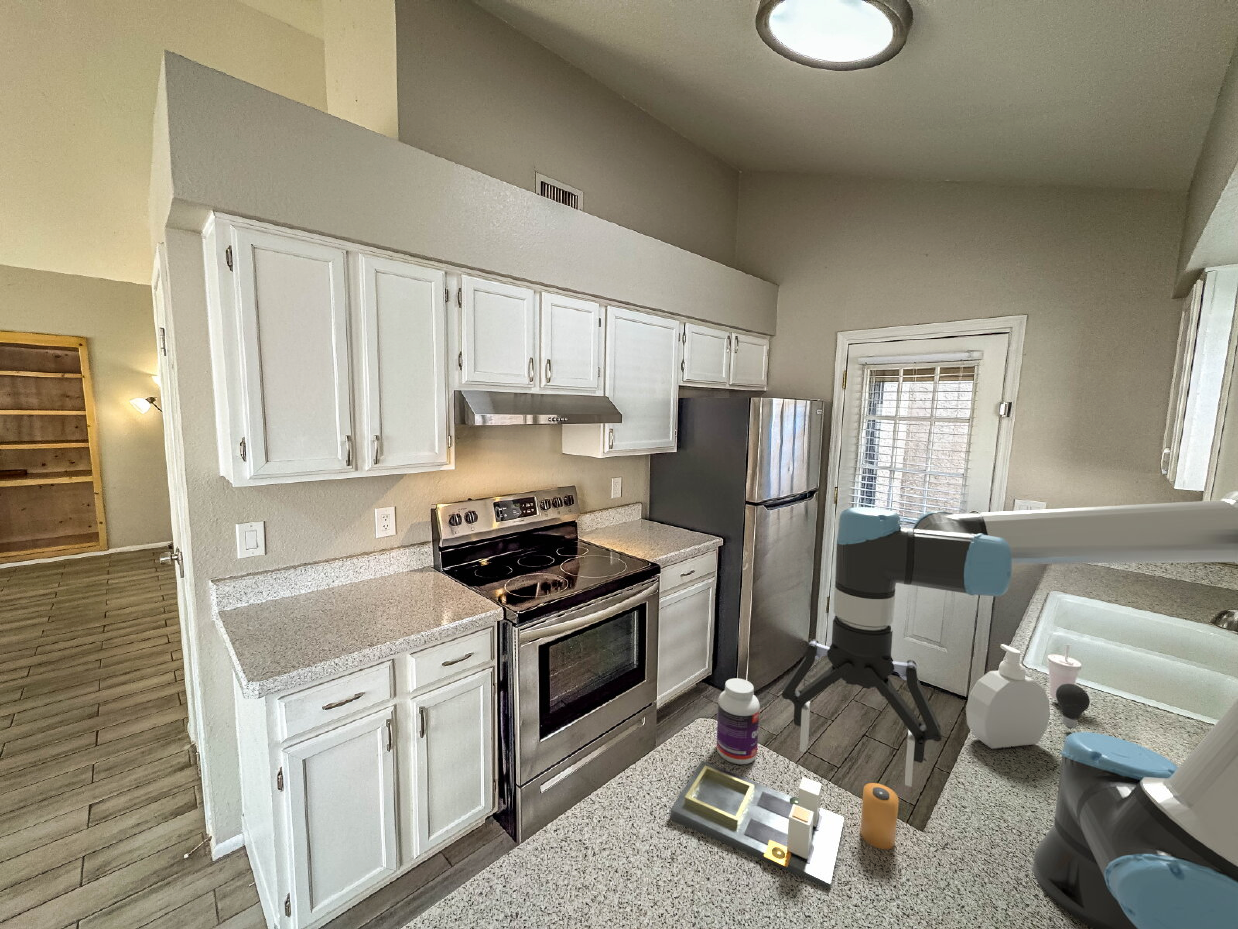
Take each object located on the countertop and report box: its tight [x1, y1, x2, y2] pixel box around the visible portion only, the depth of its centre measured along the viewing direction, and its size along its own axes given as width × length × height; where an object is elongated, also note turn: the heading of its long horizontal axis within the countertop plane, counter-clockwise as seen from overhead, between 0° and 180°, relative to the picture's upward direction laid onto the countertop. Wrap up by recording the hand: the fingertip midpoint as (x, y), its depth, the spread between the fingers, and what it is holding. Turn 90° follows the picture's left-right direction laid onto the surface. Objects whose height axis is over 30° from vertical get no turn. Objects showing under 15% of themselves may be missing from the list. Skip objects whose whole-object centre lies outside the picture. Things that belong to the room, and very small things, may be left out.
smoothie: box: [1046, 643, 1082, 701], centre depth 125 cm, size 6×6×14 cm
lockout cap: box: [859, 782, 900, 850], centre depth 82 cm, size 5×5×8 cm
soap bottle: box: [965, 643, 1051, 750], centre depth 108 cm, size 16×5×20 cm, turn 100°
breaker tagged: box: [787, 804, 814, 859], centre depth 77 cm, size 3×3×6 cm
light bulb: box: [1056, 684, 1091, 730], centre depth 113 cm, size 6×6×10 cm
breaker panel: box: [669, 760, 845, 890], centre depth 84 cm, size 25×15×3 cm, turn 59°
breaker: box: [797, 776, 823, 827], centre depth 83 cm, size 3×3×6 cm
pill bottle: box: [716, 677, 761, 765], centre depth 101 cm, size 8×8×14 cm
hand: (853, 762), depth 73 cm, fingers open, 13 cm apart
